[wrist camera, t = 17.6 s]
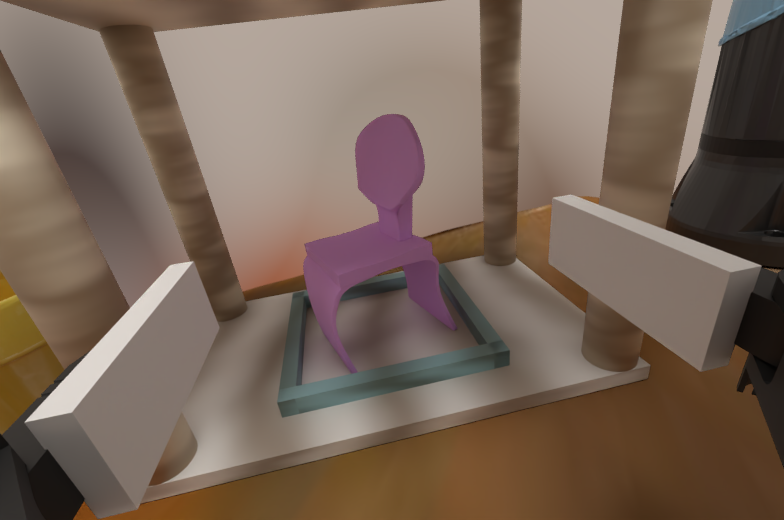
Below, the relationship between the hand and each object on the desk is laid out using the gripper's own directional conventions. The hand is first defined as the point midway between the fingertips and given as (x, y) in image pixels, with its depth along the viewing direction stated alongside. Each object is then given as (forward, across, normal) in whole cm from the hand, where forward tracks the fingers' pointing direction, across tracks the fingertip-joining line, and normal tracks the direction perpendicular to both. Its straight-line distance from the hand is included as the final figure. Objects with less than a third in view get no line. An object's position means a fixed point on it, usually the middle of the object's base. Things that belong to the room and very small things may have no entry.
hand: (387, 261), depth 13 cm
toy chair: (+10, 0, -11) cm, 15 cm away
